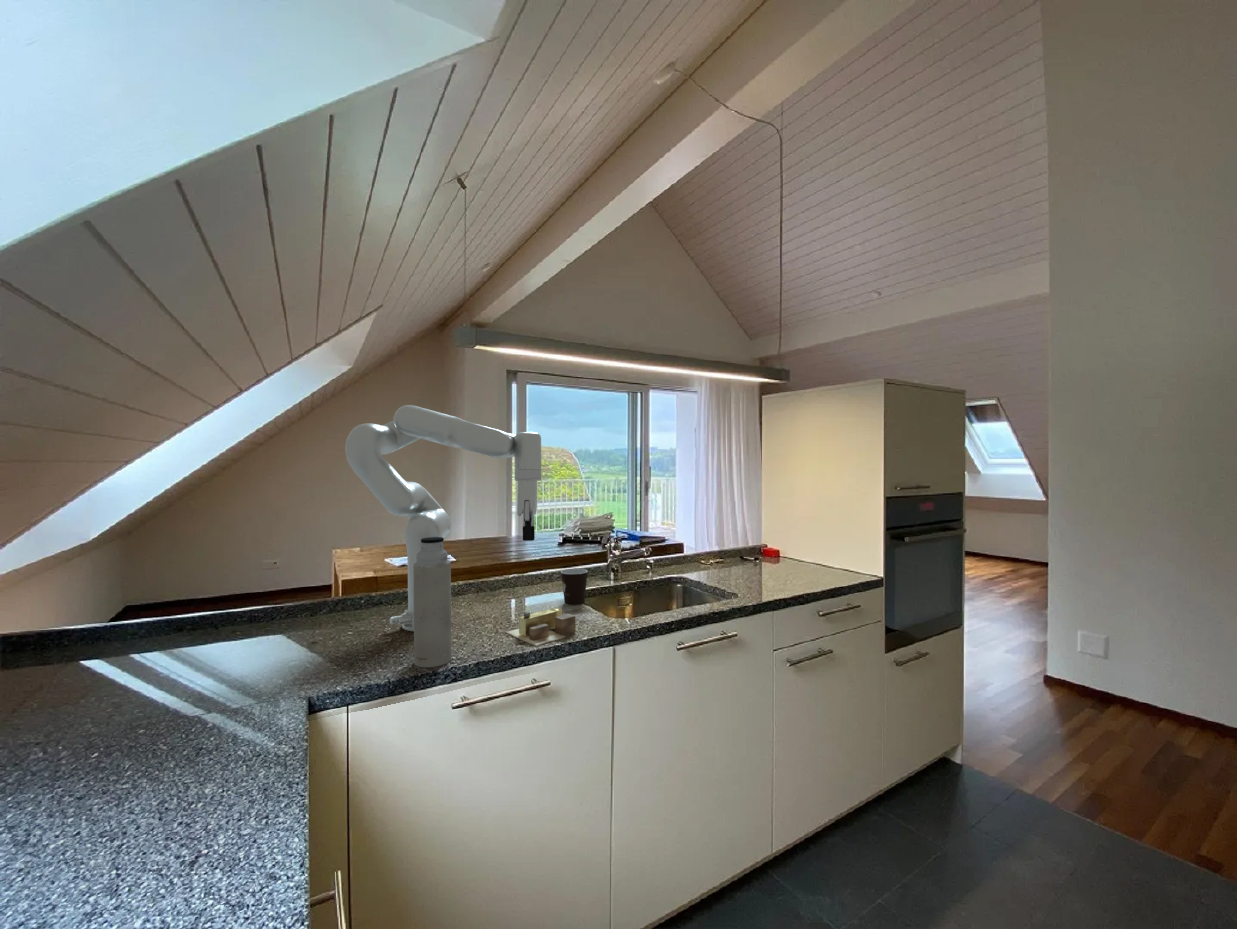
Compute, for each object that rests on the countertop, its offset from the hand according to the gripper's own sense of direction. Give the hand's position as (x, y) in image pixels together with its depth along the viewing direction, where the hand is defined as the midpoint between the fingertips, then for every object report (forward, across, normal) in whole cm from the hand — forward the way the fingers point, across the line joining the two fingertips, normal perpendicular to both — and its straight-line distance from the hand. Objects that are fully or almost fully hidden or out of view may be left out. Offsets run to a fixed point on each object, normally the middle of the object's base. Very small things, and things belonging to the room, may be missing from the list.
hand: (528, 540), depth 144 cm
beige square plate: (+23, +10, +5) cm, 26 cm away
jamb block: (+23, +11, +10) cm, 28 cm away
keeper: (+23, +15, +4) cm, 28 cm away
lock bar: (+23, +10, +4) cm, 25 cm away
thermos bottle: (+23, +27, -20) cm, 41 cm away
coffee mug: (+23, -20, +13) cm, 34 cm away
